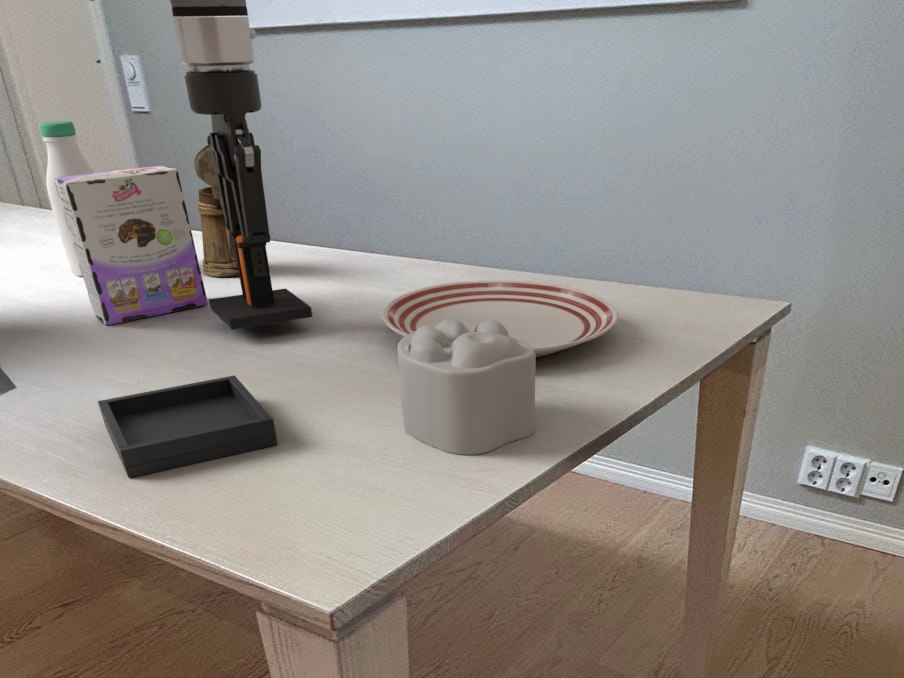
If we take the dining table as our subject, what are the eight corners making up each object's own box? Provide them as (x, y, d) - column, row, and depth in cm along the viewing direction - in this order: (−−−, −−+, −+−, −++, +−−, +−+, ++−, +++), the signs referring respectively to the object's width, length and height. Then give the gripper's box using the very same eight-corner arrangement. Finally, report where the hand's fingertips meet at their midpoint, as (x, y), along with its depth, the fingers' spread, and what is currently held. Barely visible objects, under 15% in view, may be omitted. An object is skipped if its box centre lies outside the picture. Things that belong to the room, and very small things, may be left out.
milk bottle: (83, 280, 125) (37, 126, 113) (64, 272, 129) (18, 123, 117) (132, 271, 129) (92, 120, 117) (112, 263, 134) (72, 118, 121)
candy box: (193, 297, 116) (163, 163, 106) (209, 306, 112) (179, 168, 102) (93, 316, 109) (51, 175, 99) (106, 326, 105) (64, 181, 95)
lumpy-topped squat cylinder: (463, 461, 71) (459, 360, 66) (376, 419, 79) (366, 326, 74) (549, 428, 76) (552, 332, 71) (460, 391, 84) (456, 303, 79)
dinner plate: (633, 311, 105) (636, 283, 103) (590, 386, 84) (591, 353, 82) (432, 298, 112) (430, 272, 110) (346, 365, 91) (342, 334, 89)
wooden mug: (208, 287, 120) (178, 144, 109) (201, 267, 130) (173, 134, 119) (270, 281, 122) (246, 139, 111) (258, 261, 132) (235, 130, 121)
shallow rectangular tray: (105, 426, 79) (97, 401, 78) (239, 399, 84) (234, 375, 82) (128, 478, 70) (120, 451, 68) (278, 445, 75) (273, 418, 73)
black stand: (210, 309, 104) (195, 233, 98) (287, 297, 107) (276, 224, 102) (231, 329, 97) (216, 249, 91) (312, 317, 100) (302, 239, 95)
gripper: (276, 69, 83) (309, 311, 97) (235, 64, 94) (269, 282, 108) (201, 72, 80) (246, 321, 94) (168, 66, 91) (212, 289, 105)
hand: (258, 300), depth 101 cm, fingers closed on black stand, 3 cm apart
